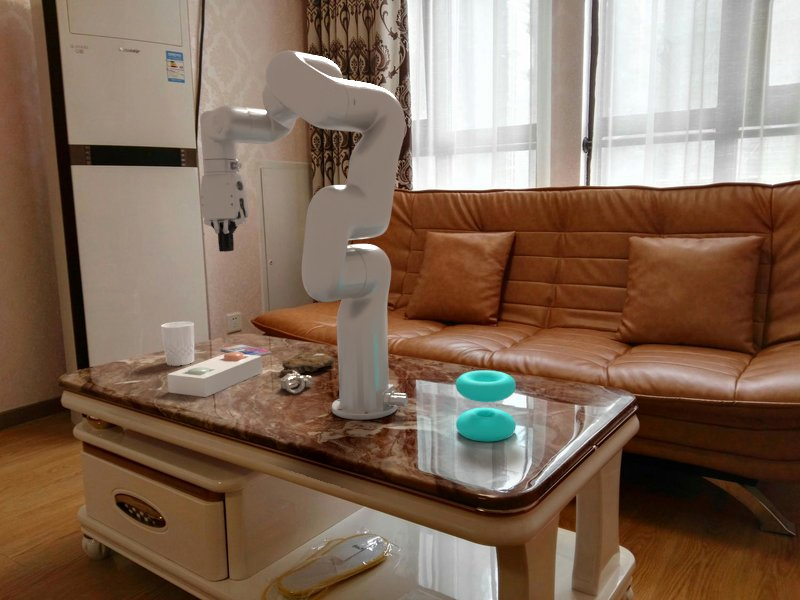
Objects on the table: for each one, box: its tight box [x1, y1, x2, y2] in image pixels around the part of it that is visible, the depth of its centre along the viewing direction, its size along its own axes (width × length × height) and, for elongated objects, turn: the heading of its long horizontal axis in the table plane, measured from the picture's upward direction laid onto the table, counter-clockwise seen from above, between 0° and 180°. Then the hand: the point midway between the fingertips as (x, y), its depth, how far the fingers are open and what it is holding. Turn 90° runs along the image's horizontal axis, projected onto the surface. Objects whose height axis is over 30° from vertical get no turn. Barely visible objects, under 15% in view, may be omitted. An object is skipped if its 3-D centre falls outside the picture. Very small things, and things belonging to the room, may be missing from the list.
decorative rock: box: [281, 351, 336, 376], centre depth 150 cm, size 11×4×15 cm
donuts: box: [455, 369, 517, 443], centre depth 106 cm, size 10×10×10 cm
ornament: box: [280, 370, 314, 395], centre depth 134 cm, size 8×7×4 cm
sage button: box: [188, 367, 209, 376], centre depth 135 cm, size 4×4×4 cm
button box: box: [166, 352, 264, 398], centre depth 141 cm, size 10×20×4 cm, turn 157°
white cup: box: [160, 320, 195, 367], centre depth 159 cm, size 8×8×10 cm
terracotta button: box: [223, 352, 244, 362], centre depth 146 cm, size 4×4×4 cm
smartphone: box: [220, 344, 272, 357], centre depth 169 cm, size 7×1×15 cm
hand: (226, 250), depth 142 cm, fingers closed
